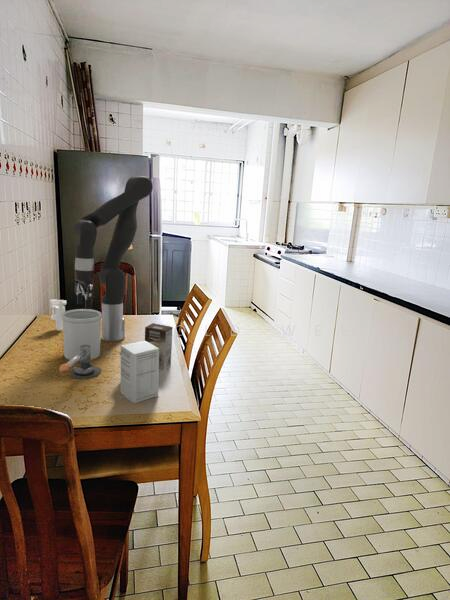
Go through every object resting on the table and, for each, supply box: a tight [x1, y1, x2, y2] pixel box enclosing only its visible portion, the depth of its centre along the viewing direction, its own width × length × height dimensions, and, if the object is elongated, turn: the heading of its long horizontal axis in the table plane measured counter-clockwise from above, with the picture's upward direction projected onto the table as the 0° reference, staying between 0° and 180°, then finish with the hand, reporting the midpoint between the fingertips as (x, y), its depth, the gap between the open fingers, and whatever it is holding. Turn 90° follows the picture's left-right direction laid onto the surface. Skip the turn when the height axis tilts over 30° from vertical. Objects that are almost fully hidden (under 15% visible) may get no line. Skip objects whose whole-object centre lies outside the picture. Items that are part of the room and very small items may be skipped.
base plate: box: [69, 365, 102, 380], centre depth 142 cm, size 11×11×1 cm
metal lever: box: [59, 345, 96, 376], centre depth 133 cm, size 20×7×9 cm, turn 177°
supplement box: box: [120, 340, 160, 404], centre depth 127 cm, size 10×9×17 cm
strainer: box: [49, 298, 67, 332], centre depth 186 cm, size 7×7×15 cm
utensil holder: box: [62, 308, 102, 362], centre depth 156 cm, size 15×15×18 cm
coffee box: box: [144, 322, 173, 371], centre depth 151 cm, size 9×6×16 cm
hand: (83, 306), depth 167 cm, fingers open, 8 cm apart
